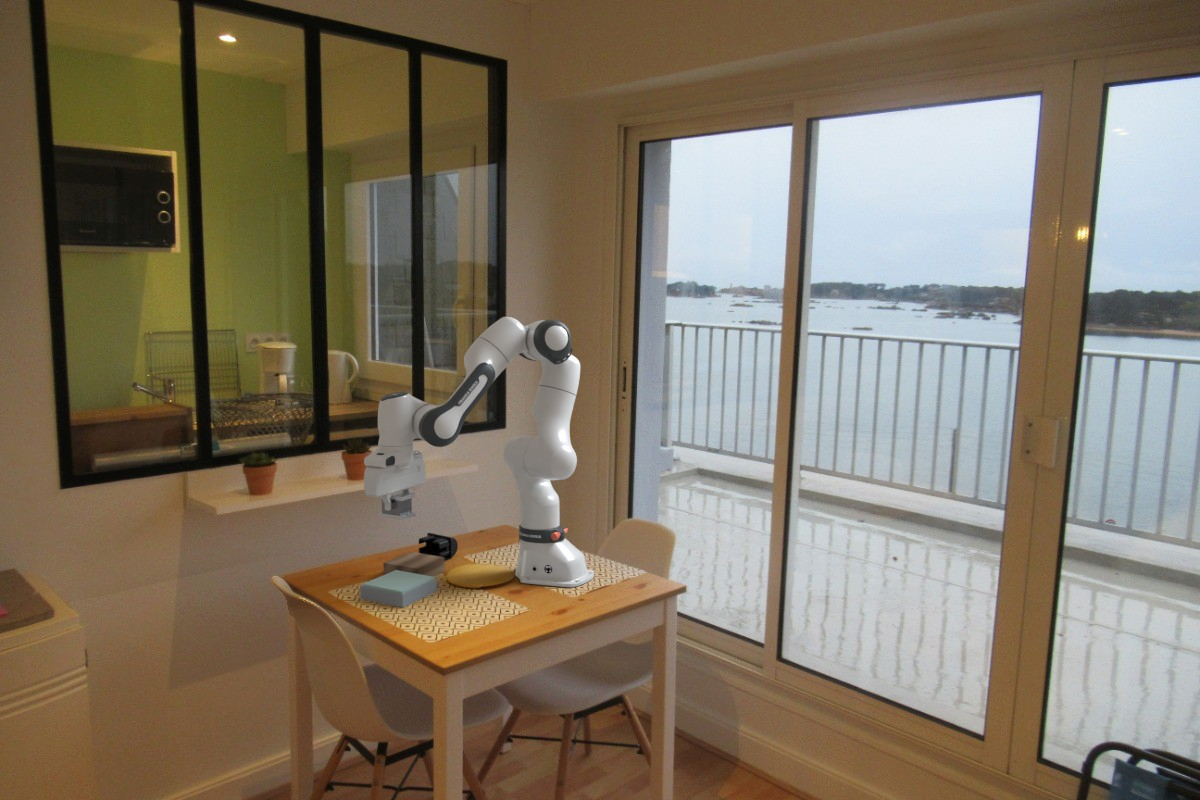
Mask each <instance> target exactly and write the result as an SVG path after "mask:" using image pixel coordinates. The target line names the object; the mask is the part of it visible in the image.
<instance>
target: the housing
mask: <svg viewBox="0 0 1200 800" xmlns="http://www.w3.org/2000/svg"><path fill="white" fill-rule="evenodd" d="M377 498H378V499H381V512H378V515H377V516H378V517H379V518H385V519H392V520H399V521H405V520H406V519H407V520H408V519H410V518H413V517H416V516H417V515H416V511H413V509H412V508H413V507H412V503H413V502H412V499H413V498H414V499H415V498H416V493H415V492H412V493H409V492H404V491H402V490H401V491H397V492H394V493H391V497H389V498H390V501H391V503H394V506H393V507H394V509H392V510H389V511H388V510H385V503H384V502H383V500H382V498H381V496H379V497H377Z"/></svg>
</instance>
